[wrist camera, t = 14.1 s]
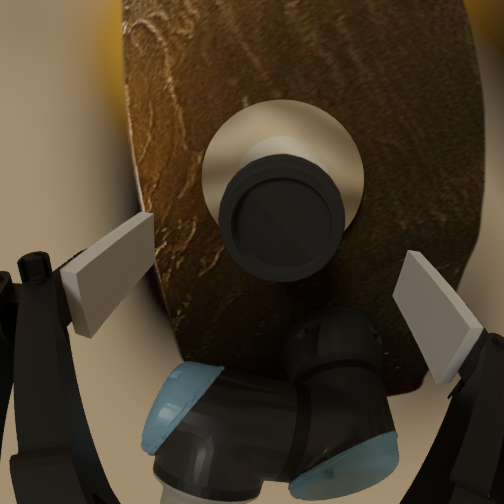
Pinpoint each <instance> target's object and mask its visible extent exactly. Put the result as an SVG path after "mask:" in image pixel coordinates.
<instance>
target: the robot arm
mask: <svg viewBox="0 0 504 504" xmlns="http://www.w3.org/2000/svg"><path fill="white" fill-rule="evenodd" d="M154 263H155V255H154V214H153V213H144V212H140V213H138V214H137V215H135V216H134V217H133V218H131V219H129V220H128V221H126V222H125V223H123V224H122V225H120V226H119V227H118V228H116V229H115V230H113V231H112V232H110V233H109V234H108V235H106V236H105V237H103V238H102V239H100V240H99V241H98V242H96V243H95V244H93V245H92V246H91V247H89V248H87V249H85V250H82V251H80V252H79V253H77V254H76V255H74V256H73V258H70V259H69V260H68V261H67V262H65V263H64V264H63V265H61V266H60V267H58V268H57V269H56V270H55V271H53V272H52V268H51V263H50V257H49V254H48V253H46V252H41V251H38V252H32V253H29V254H26V255H24V256H22V257H21V258H20V259H19V260H18V262H17V264H18V268H19V272H20V276H21V280H22V284H19V283H18V284H17V283H12V279H11V276H10V273H9V272H6V271H0V458H1V448H2V439H3V432H4V426H5V420H6V414H7V409H8V404H9V399H10V394H11V390H12V386H13V382H14V410H15V422H16V433H17V441H18V454H16V455H12V456H11V458H10V461H9V462H10V473H11V479H12V484H13V488H14V493H15V497H16V501H17V504H120V502H119V501H118V499H117V497H116V496H115V494H114V492H113V491H112V489H111V487H110V485H109V482H108V480H107V478H106V475H105V473H104V470H103V468H102V465H101V462H100V460H99V457H98V454H97V451H96V448H95V445H94V442H93V439H92V436H91V433H90V430H89V426H88V423H87V419H86V416H85V412H84V409H83V405H82V401H81V396H80V393H79V388H78V383H77V379H76V374H75V369H74V363H73V358H72V352H71V346H70V340H69V333H68V330H67V326H68V325H69V324H70V323H71V322H72V323H73V326H74V330H75V333H76V334H79V335H82V336H85V337H87V338H90V339H91V338H92V337H93V335H94V334H95V333H96V332H97V330H98V329H99V328H100V327H101V325H102V324H103V323H104V322H105V320H106V319H107V318H108V317H109V315H110V314H111V313H112V312H113V310H114V309H115V308H116V307H117V306H118V305H119V303H120V302H121V301H122V300H123V299H124V297H125V296H126V295H127V294H128V293H129V291H130V290H131V289H132V288H133V287H134V285H135V284H136V283H137V282H138V281H139V280H140V279H141V277H142V276H143V275H144V274H145V273H146V272H147V271H148V269H149V268H150V267H151V266H152V265H153V264H154ZM393 298H394V299H395V301H396V303H397V305H398V307H399V309H400V311H401V312H402V314H403V316H404V318H405V320H406V322H407V324H408V326H409V328H410V330H411V332H412V334H413V336H414V338H415V340H416V342H417V344H418V346H419V348H420V350H421V352H422V354H423V356H424V358H425V360H426V363H427V365H428V367H429V369H430V371H431V374H432V376H433V378H434V380H435V382H436V384H444V383H450V382H451V381H452V380H453V378H454V377H455V375H456V374H457V372H458V373H459V375H460V377H461V379H460V381H459V382H458V384H457V385H456V386H455V388H454V389H453V390H452V392H451V393H450V394H449V396H448V397H447V398H448V399H449V398H450V397H451V396H452V399H451V402H450V404H449V407H448V410H447V412H446V415H445V417H444V420H443V422H442V425H441V427H440V429H439V432H438V434H437V436H436V438H435V440H434V443H433V445H432V447H431V449H430V451H429V453H428V455H427V457H426V459H425V461H424V463H423V464H422V466H421V468H420V470H419V472H418V474H417V475H416V477H415V479H414V481H413V483H412V485H411V486H410V488H409V489H408V491H407V492H406V494H405V496H404V497H403V499H402V500H401V502H400V504H504V337H502V336H501V335H499V334H496V333H488V332H487V331H486V329H485V328H484V327H483V325H482V324H481V323H480V321H479V320H478V319H477V318H476V316H475V315H474V314H473V313H472V311H471V310H470V309H469V307H468V306H467V305H466V304H465V303H464V302H463V301H462V300H461V298H460V297H459V296H458V295H457V294H456V292H455V291H454V290H453V289H452V288H451V286H450V285H449V284H448V283H447V282H446V281H445V279H444V278H443V277H442V276H441V275H440V274H439V273H438V272H437V270H436V269H435V268H434V267H433V266H432V265H431V264H430V263H429V262H428V261H427V259H426V258H425V257H424V256H423V255H422V254H421V253H420V252H416V251H410V250H408V251H407V255H406V258H405V261H404V264H403V267H402V270H401V273H400V276H399V279H398V282H397V285H396V287H395V290H394V293H393ZM381 357H382V338H381V335H380V332H379V330H378V327H377V325H376V323H375V321H374V320H373V319H372V318H371V317H370V316H369V315H367V314H366V313H364V312H363V311H361V310H358V309H355V308H351V307H346V306H332V307H325V308H321V309H317V310H314V311H312V312H310V313H308V314H306V315H304V316H302V317H301V318H299V319H298V320H297V321H295V322H294V323H293V324H292V325H291V326H290V328H289V329H288V330H287V332H286V333H285V335H284V338H283V341H282V347H281V360H282V365H283V368H284V370H285V372H286V375H287V377H288V379H289V382H287V381H281V380H276V379H271V378H266V377H261V376H256V375H251V374H247V373H242V372H238V371H234V370H230V369H225V367H223V366H220V367H216V366H211V365H206V364H202V363H197V362H184V363H182V364H180V365H178V366H177V367H176V368H175V369H174V370H173V371H172V372H171V373H170V375H169V376H168V377H167V379H166V381H165V382H164V384H163V386H162V387H161V389H160V391H159V393H158V395H157V397H156V399H155V401H154V403H153V406H152V408H151V410H150V413H149V415H148V417H147V420H146V423H145V426H144V430H143V433H142V442H141V447H142V449H143V451H145V452H147V453H148V455H151V456H153V455H155V461H154V466H153V474H154V476H155V477H156V479H157V480H158V481H159V482H160V483H161V484H162V485H163V492H162V497H161V501H160V504H246V503H248V502H251V501H253V500H255V499H256V498H257V497H258V496H259V494H260V491H261V487H262V484H263V482H264V481H276V482H286V483H289V487H288V489H289V491H290V493H291V495H292V496H293V497H294V498H296V499H302V500H309V501H314V500H326V499H332V498H338V497H342V496H346V495H350V494H353V493H356V492H359V491H362V490H364V489H366V488H369V487H371V486H373V485H375V484H377V483H379V482H380V481H382V480H384V479H385V478H386V477H388V476H389V475H390V474H391V473H392V472H393V471H394V469H395V468H396V466H397V465H398V462H399V452H398V445H397V437H398V434H397V433H396V430H395V427H394V422H393V419H392V415H391V411H390V408H389V404H388V400H387V397H386V393H385V390H384V387H383V383H382V380H381V376H380V366H381Z"/></svg>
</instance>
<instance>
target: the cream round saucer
mask: <svg viewBox="0 0 504 504" xmlns="http://www.w3.org/2000/svg"><path fill="white" fill-rule="evenodd" d="M281 153H286V154H291V155H295V156H298V157H302V158H305V159H307V160H309V161H311V162H313V163H315V164H317V165H318V166H319V167H320V168H322V169H323V170H324V171H325V172H326V173H327V174H328V175H329V176H330V177H331V178H332V180H333V181H334V183H335V184H336V186H337V188H338V189H339V192H340V195H341V198H342V201H343V205H344V208H345V229H346V228H347V227H348V226H349V224H350V223H351V221H352V220H353V218H354V216H355V215H356V212H357V210H358V208H359V205H360V202H361V198H362V194H363V187H364V173H363V166H362V161H361V158H360V154H359V152H358V149H357V147H356V145H355V143H354V141H353V140H352V138H351V136H350V135H349V133H348V132H347V131H346V130H345V128H344V127H343V126H342V125H341V124H340V123H339V122H338V121H337V120H336V119H334V118H333V117H332V116H330V115H329V114H327V113H326V112H324V111H322V110H321V109H319V108H317V107H315V106H312V105H309V104H306V103H303V102H298V101H293V100H271V101H266V102H261V103H257V104H255V105H252V106H249V107H247V108H245V109H243V110H241V111H239V112H238V113H236V114H235V115H234V116H232V117H231V118H230V119H229V120H227V121H226V122H225V123H224V124H223V125H222V126H221V128H220V129H219V130H218V131H217V133H216V134H215V136H214V137H213V139H212V140H211V142H210V144H209V147H208V149H207V151H206V154H205V158H204V161H203V168H202V187H203V194H204V197H205V201H206V204H207V206H208V209H209V211H210V213H211V215H212V217H213V218H214V220H215V222H216V223H217V224H218V226H219V222H218V216H219V207H220V202H221V200H222V197H223V194H224V192H225V189H226V187H227V185H228V183H229V182H230V181H231V179H232V178H233V177H234V175H235V174H236V173H237V172H238V171H239V170H240V169H242V168H243V167H244V166H246V165H247V164H249V163H250V162H251V161H254V160H257V159H259V158H262V157H265V156H268V155H273V154H281ZM344 231H345V230H344Z"/></svg>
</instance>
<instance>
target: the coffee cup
mask: <svg viewBox="0 0 504 504" xmlns="http://www.w3.org/2000/svg"><path fill="white" fill-rule="evenodd" d="M218 222H219V228H220V235H221V237H222V239H223V242H224V244H225V246H226V248H227V250H228V252H229V254H230V255H231V256H232V257H233V259H234V260H235V261H236V262H237V264H238V265H239V266H241V267H242V268H243V269H245V270H246V271H247V272H249V273H250V274H252V275H254V276H257V277H259V278H261V279H264V280H269V281H274V282H291V281H296V280H300V279H303V278H306V277H309V276H310V275H312V274H314V273H315V272H317V271H319V270H320V269H321V268H322V267H323V266H324V265H325V264H327V263H328V262H329V261H330V260H331V258H332V256H333V255H334V253H335V252H336V250H337V248H338V246H339V245H340V243H341V241H342V237H343V233H344V230H345V208H344V205H343V201H342V198H341V195H340V192H339V189H338V188H337V186H336V184H335V183H334V181H333V180H332V178H331V177H330V176H329V175H328V174H327V173H326V172H325V171H324V170H323V169H322V168H320V167H319V166H318V165H317V164H315V163H313V162H311V161H309V160H307V159H305V158H302V157H298V156H295V155H291V154H286V153H281V154H273V155H268V156H265V157H262V158H259V159H257V160H254V161H251V162H250V163H249V164H247V165H246V166H244V167H243V168H242V169H240V170H239V171H238V172H237V173H236V174H235V175H234V177H233V178H232V179H231V181H230V182H229V183H228V185H227V187H226V189H225V192H224V194H223V197H222V200H221V202H220V207H219V216H218Z"/></svg>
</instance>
